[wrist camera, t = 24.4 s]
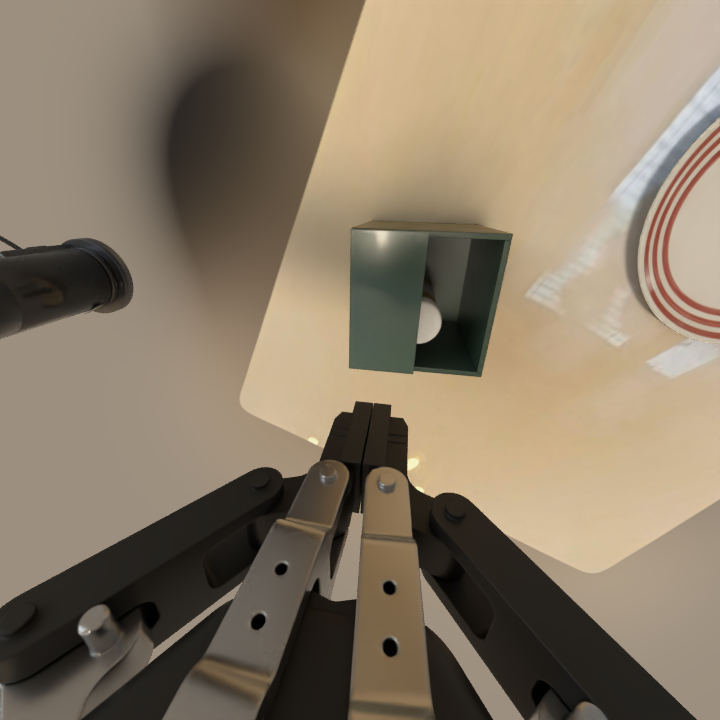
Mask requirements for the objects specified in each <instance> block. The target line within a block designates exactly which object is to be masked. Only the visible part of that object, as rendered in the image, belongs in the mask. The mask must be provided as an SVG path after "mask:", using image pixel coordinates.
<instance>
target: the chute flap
mask: <svg viewBox="0 0 720 720" xmlns="http://www.w3.org/2000/svg"><path fill="white" fill-rule="evenodd" d="M428 240H429V232H425V231H400V230H374V229H351V261H350V335H349V368H352V369H363V370H374V371H385V372H396V373H407V374H413V371H414V362H415V353H416V345H417V336H418V327H419V319H420V310H421V301H422V292H423V284H424V275H425V266H426V257H427V249H428Z"/></svg>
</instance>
